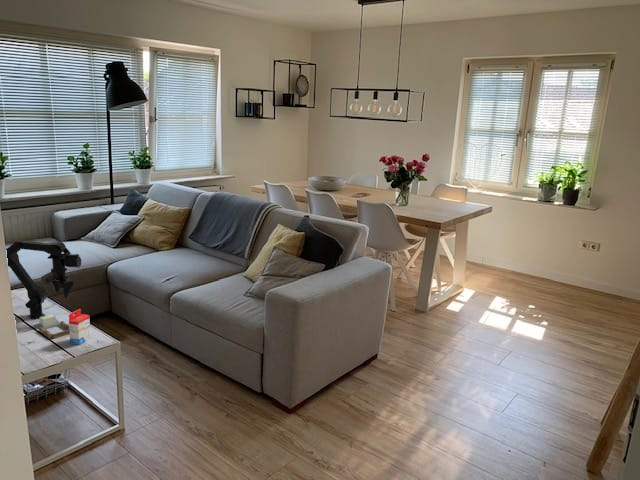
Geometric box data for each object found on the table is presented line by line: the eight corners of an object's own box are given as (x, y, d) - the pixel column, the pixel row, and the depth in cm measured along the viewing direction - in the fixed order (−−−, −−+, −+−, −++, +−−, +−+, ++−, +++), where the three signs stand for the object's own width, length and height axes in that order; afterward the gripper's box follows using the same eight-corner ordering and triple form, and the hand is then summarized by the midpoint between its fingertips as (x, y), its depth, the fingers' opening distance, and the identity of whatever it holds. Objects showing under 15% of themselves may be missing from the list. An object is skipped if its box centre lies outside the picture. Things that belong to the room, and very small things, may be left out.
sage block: (40, 324, 246) (39, 317, 245) (52, 321, 251) (52, 313, 250) (43, 326, 244) (43, 319, 243) (56, 323, 249) (55, 316, 248)
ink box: (79, 345, 228) (77, 315, 225) (69, 343, 229) (67, 314, 226) (91, 337, 236) (89, 309, 233) (82, 336, 237) (80, 307, 234)
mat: (34, 325, 246) (34, 324, 246) (55, 319, 254) (55, 319, 254) (41, 330, 241) (41, 329, 241) (62, 324, 249) (62, 323, 249)
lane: (39, 331, 240) (39, 327, 240) (62, 324, 249) (62, 321, 248) (51, 339, 233) (51, 335, 232) (75, 332, 241) (75, 328, 240)
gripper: (34, 265, 250) (36, 294, 254) (51, 274, 239) (53, 304, 243) (56, 261, 259) (59, 289, 263) (73, 269, 248) (76, 298, 252)
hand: (61, 295), depth 255 cm, fingers open, 9 cm apart
